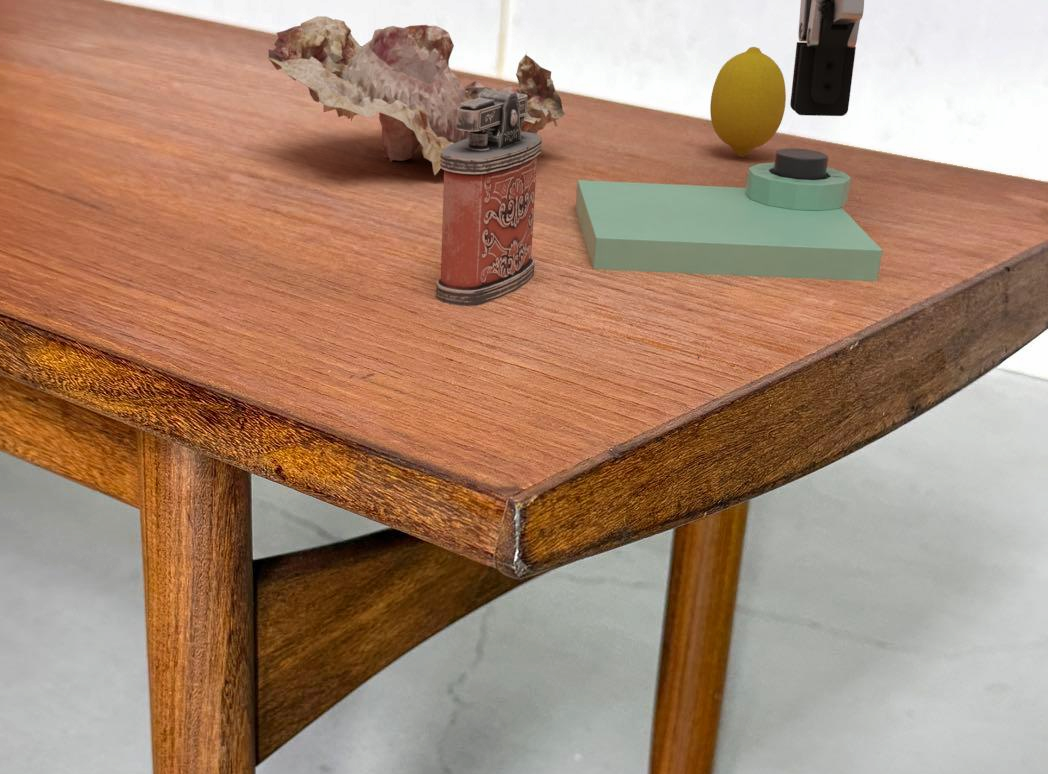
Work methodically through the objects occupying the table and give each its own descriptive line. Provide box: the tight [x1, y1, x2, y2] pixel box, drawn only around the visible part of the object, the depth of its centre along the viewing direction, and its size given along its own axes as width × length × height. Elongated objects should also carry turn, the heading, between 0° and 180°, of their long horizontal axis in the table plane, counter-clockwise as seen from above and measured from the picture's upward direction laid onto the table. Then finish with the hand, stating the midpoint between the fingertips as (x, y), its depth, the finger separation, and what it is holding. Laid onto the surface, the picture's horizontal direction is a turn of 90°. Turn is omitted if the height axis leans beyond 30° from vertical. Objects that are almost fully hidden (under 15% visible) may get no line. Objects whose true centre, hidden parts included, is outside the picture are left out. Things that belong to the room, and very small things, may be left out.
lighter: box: [435, 89, 543, 307], centre depth 76 cm, size 8×3×10 cm, turn 154°
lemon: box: [709, 46, 787, 158], centre depth 111 cm, size 6×6×8 cm
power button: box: [773, 147, 829, 180], centre depth 92 cm, size 3×3×2 cm
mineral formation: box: [267, 15, 566, 176], centre depth 104 cm, size 23×16×10 cm
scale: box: [575, 161, 883, 282], centre depth 89 cm, size 17×15×4 cm
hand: (818, 112), depth 90 cm, fingers closed
